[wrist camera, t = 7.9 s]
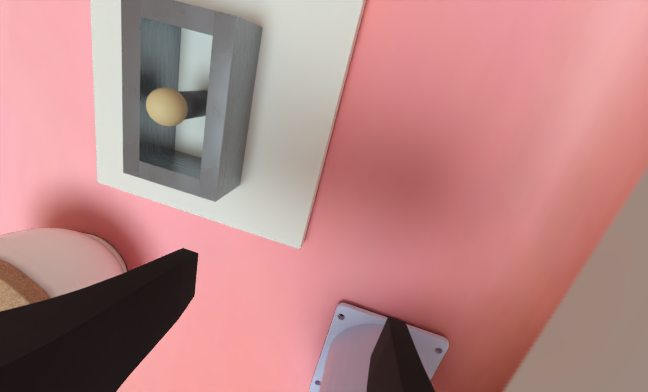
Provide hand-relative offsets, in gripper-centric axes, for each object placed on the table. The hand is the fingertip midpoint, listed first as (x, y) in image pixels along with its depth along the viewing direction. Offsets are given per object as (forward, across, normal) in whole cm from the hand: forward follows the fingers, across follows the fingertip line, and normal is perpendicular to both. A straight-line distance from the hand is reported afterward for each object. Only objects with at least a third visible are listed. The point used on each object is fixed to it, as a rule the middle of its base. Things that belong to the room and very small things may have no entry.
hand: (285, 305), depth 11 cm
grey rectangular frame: (+9, +9, -4) cm, 13 cm away
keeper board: (+10, +8, -4) cm, 13 cm away
